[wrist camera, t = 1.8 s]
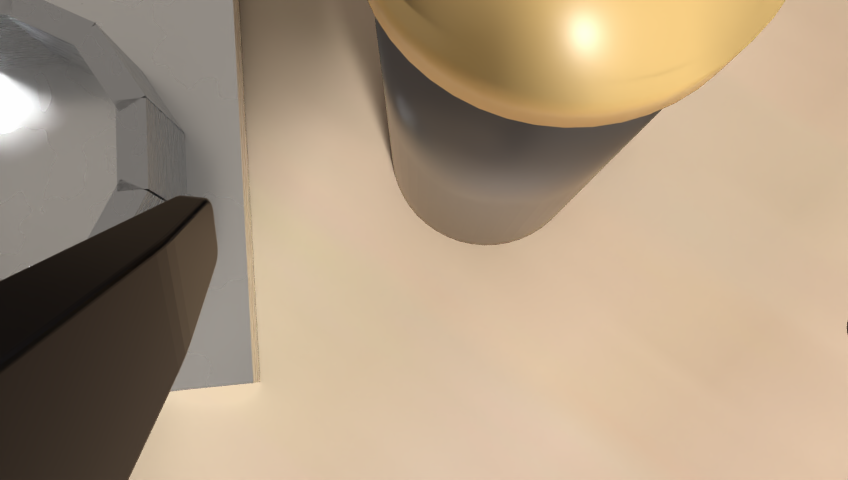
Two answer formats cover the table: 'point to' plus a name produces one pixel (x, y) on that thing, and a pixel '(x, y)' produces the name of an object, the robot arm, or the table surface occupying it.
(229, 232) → the duct collar
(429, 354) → the table surface
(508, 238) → the grey cylindrical piece
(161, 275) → the robot arm
